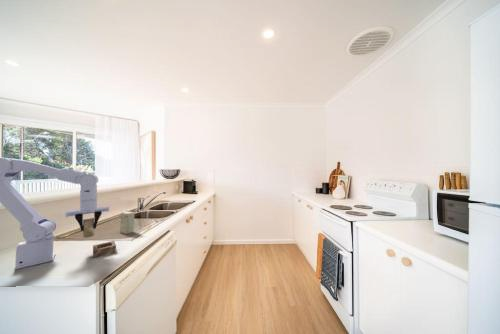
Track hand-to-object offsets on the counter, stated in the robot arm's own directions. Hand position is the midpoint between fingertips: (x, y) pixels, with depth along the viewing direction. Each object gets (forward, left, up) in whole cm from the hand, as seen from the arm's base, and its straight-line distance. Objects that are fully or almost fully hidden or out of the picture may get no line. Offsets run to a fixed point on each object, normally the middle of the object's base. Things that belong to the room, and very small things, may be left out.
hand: (88, 229), depth 79 cm
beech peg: (0, 0, -3) cm, 3 cm away
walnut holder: (+5, -5, -10) cm, 13 cm away
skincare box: (+17, +19, -11) cm, 28 cm away
